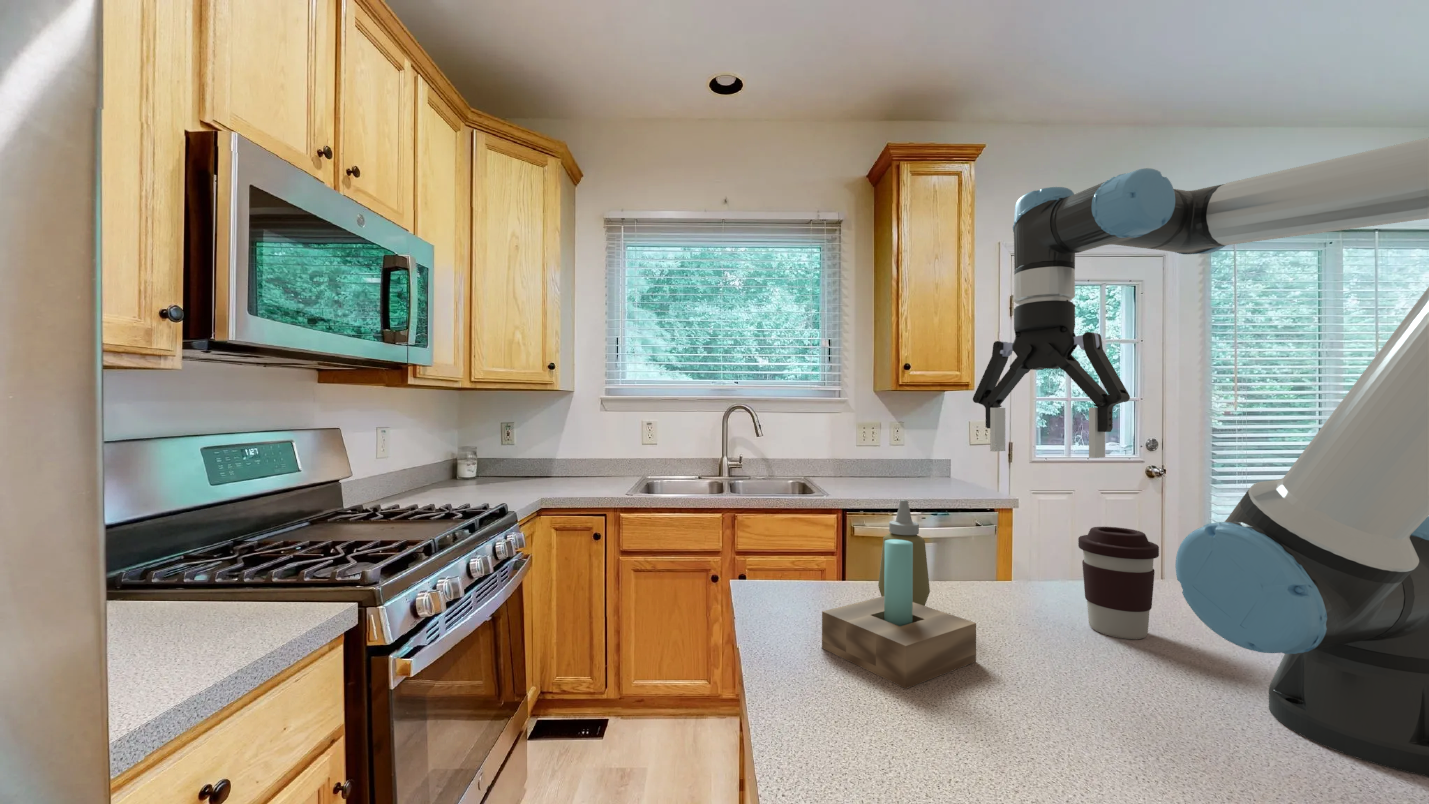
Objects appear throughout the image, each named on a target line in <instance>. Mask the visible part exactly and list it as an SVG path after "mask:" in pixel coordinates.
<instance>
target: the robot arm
mask: <svg viewBox="0 0 1429 804" xmlns="http://www.w3.org/2000/svg"><path fill="white" fill-rule="evenodd" d="M1420 220H1429V137H1425V138H1420V139H1415V140H1410V141H1407V142H1401V143H1398V144H1397V143H1396V144H1394V145H1389V146H1385V147H1379V148H1375V149H1371V150H1368V151H1367V150H1366V151H1362V152H1358V153H1353V154H1349V155H1345V156H1340V157H1336V158H1330V159H1327V160H1322V161H1318V162H1313V163H1309V164H1304V165H1299V166H1296V167H1292V168H1287V169H1283V170H1278V171H1273V172H1270V173H1269V172H1268V173H1266V174H1260V175H1256V176H1255V175H1254V176H1251V177H1246V178H1243V179H1242V178H1241V179H1238V180H1234V181H1229V182H1225V183H1223V184H1218V185H1217V184H1216V185H1213V186H1208V187H1203V188H1199V189H1193V190H1184V189H1179V188H1178V189H1176V188H1174V187H1173V184H1172V181H1171V180H1170V179H1169V178H1168V177H1167V176H1163V175H1162V172H1161V171H1159V170H1158V169H1156V168H1149V167H1147V168H1140V169H1136V170H1132V171H1129V172H1127V173H1122V174H1118V175H1117V176H1113V177H1111V178H1109V179H1108V180H1105V181H1104V182H1101V183H1098V184H1096V185H1093V186H1091V187H1089V188H1086V189H1084V190H1082V191H1080V192H1078V193H1077V192H1076V193H1074V191H1073V190H1071V188H1068V187H1063V186H1052V187H1043V188H1041V189H1038V190H1031V191H1029V192H1027V193H1025V194H1023V195H1022V196H1021V197H1019V198H1018V199H1017V201H1016V202H1015V206H1014V217H1013V226H1012V230H1013V231H1012V232H1013V263H1014V264H1013V265H1014V266H1013V267H1014V269H1013V270H1014V272H1013V273H1014V274H1013V275H1014V276H1013V279H1014V280H1013V302H1014V303H1015V304H1017V305H1016V306H1015V308H1013V330H1014V334H1015V337H1014V340H1013V341H1012V342H1008V341H1002V340H1001V341H1000V340H996V341H994V342H993V344H992V352H991V358H990V360H989V361H988V364H987V366H986V369H985V370H984V373H983V375H982V376H981V379H980V381H979V384H978V386H977V388H976V390H975V392H974V395H973V397H972V401H973V403H976V404H979V405H982V406H983V407H984V408H985V409H984V410H985V428H986V429H990V431H989V432H990V433H989V434H990V435H989V436H990V437H989V438H990V446H989V447H990V449H989V450H990V451H989V452H1006V407H1003V405H1002V404H1003V402H1004V401H1005V400H1006V399H1007V397H1008V396H1009V395H1010V393H1011V392H1012V391H1013V390H1014V389H1015V388H1016V386H1017V385H1018V383H1020V381H1021V380H1022V378H1024V377H1025V375H1026V374H1028V373H1029V372H1030V371H1031V370H1032V371H1035V370H1036V371H1042V370H1045V369H1050V370H1059V369H1060V370H1063V372H1065V373H1066V375H1067V376H1069V378H1070V379H1071V380H1072V381H1073V382H1074V383H1075V384H1076V385H1077V386H1078V387H1079V389H1081V390H1082V392H1083V393H1084V394H1085V395H1086V397H1088V398H1089V399H1090V400H1091V401H1092V402H1093V403H1094V404H1093V406H1094V407H1088V458H1090V459H1099V458H1101V459H1102V458H1106V433H1111V432H1112V430H1113V425H1114V424H1113V423H1114V422H1113V420H1114V419H1113V412H1114V410H1113V409H1114V407H1115V406H1116V405H1119V404H1121V403H1122V404H1123V403H1126V402H1128V401H1130V399H1131V396H1130V394H1129V392H1128V390H1127V388H1126V387H1125V385H1124V384H1123V382H1122V380H1121V379H1120V376H1119V375H1118V373H1117V371H1116V369H1115V368H1114V367H1113V366H1114V365H1112V363H1111V361H1110V359H1109V357H1108V355H1107V354H1106V353H1105V350H1104V349H1103V347H1104V346H1103V340H1102V335H1101V333H1098V332H1091V331H1085V332H1084V333H1083V334H1081V335H1076V333H1075V329H1076V328H1075V327H1076V304H1074V302H1073V301H1072V300H1073V299H1074V298H1075V297H1076V291H1075V290H1076V287H1075V284H1076V282H1075V281H1076V278H1075V277H1076V275H1075V273H1076V271H1075V270H1076V254H1079V253H1082V252H1086V251H1090V250H1093V249H1096V248H1099V247H1103V246H1108V245H1109V246H1110V245H1111V246H1112V245H1115V246H1120V247H1121V246H1123V247H1131V248H1140V249H1149V250H1157V251H1164V252H1171V253H1176V254H1181V255H1206V254H1212V253H1215V252H1217V251H1219V250H1221V249H1223V248H1225V247H1226V246H1231V245H1237V244H1246V243H1247V244H1248V243H1253V242H1260V241H1269V240H1277V239H1283V238H1284V239H1285V238H1291V237H1299V236H1307V235H1314V234H1315V235H1316V234H1322V233H1329V232H1337V231H1344V230H1345V231H1346V230H1351V229H1359V228H1367V227H1375V226H1383V225H1388V224H1389V225H1390V224H1397V223H1407V222H1413V221H1420ZM1078 346H1079V348H1080V349H1081V350H1082V351H1084V353H1085V356H1086V357H1087V359H1088V361H1089V362H1090V364H1091V365H1092V368H1093V370H1094V371H1095V373H1096V375H1097V377H1098V379H1099V380H1100V382H1101V383H1102V385H1103V387H1104V389H1105V390H1104V389H1103V388H1102V386H1100V384H1098V382H1097V381H1096V380H1095V378H1093V377H1092V375H1090V374H1089V372H1087V371H1086V369H1084V368H1083V367H1082V366H1081V363H1080V361H1078V360H1077V359H1076V358H1075V357H1074V356H1073V352H1075V349H1076V348H1077V347H1078ZM1013 352H1014V354H1015V355H1016V357H1015V359H1014V360H1013V361H1012V363H1011V364H1010V365H1009V369H1008V370H1007V371H1006V373H1005V374H1004V375H1003V376H1002V377H1001V375H1002V374H1003V372H1004V369H1005V367H1006V365H1007V363H1008V359H1009V358H1010V356H1012V355H1013ZM1000 378H1001V379H1000ZM1175 576H1176V580H1177V581H1178V582H1179V583H1180V587H1181V589H1182V592H1181V593H1182V595H1183V598H1184V600H1185V601H1186V602H1187V605H1188V606H1189V607H1190V609H1191V610H1192V612H1193V613H1194V614H1195V615H1196V616H1197V617H1198V619H1199V620H1200V621H1202V623H1203V624H1204V625H1206V626H1207V627H1208V628H1209V629H1210V630H1211V631H1212V632H1214V633H1215V634H1216V635H1218V636H1219V637H1221V638H1222V639H1224V640H1226V641H1228V642H1230V643H1231V644H1234V645H1235V646H1238V647H1241V648H1242V649H1243V648H1244V649H1246V650H1249V651H1252V652H1257V653H1263V654H1280V653H1281V654H1283V657H1282V658H1281V660H1280V663H1279V665H1278V667H1277V669H1276V671H1275V673H1274V675H1273V678H1272V679H1271V682H1270V684H1269V686H1268V687H1269V688H1268V710H1269V712H1270V713H1271V715H1272V716H1273V717H1274V718H1275V719H1276V720H1277V721H1279V722H1280V724H1283V725H1284V726H1285V727H1287V728H1288V729H1290V730H1291V731H1293V732H1295V733H1297V734H1299V735H1301V736H1303V737H1305V738H1307V739H1309V740H1311V741H1312V742H1315V743H1318V744H1319V745H1322V746H1325V747H1327V748H1329V749H1332V750H1335V751H1337V752H1340V753H1343V754H1345V755H1348V756H1350V757H1354V758H1356V759H1359V760H1363V761H1366V762H1369V763H1373V764H1376V765H1379V766H1383V767H1386V768H1387V767H1388V768H1391V769H1394V770H1398V771H1403V772H1406V773H1412V774H1417V775H1420V776H1421V775H1423V776H1429V286H1428V287H1427V288H1426V290H1425V291H1424V292H1423V294H1422V295H1421V296H1420V298H1419V299H1418V300H1417V301H1416V303H1415V304H1414V305H1413V307H1412V308H1411V309H1410V310H1409V312H1408V313H1407V315H1406V316H1405V317H1404V319H1403V320H1402V321H1401V322H1400V324H1399V325H1398V327H1397V328H1396V329H1395V330H1394V332H1393V333H1392V334H1391V336H1390V337H1389V338H1388V340H1387V341H1386V342H1385V343H1384V344H1383V347H1382V348H1381V349H1380V350H1379V351H1378V353H1377V354H1376V355H1375V357H1374V358H1373V359H1372V361H1371V362H1370V364H1369V365H1368V366H1367V367H1366V369H1365V370H1364V371H1363V373H1362V374H1361V375H1360V376H1359V378H1358V379H1357V380H1356V382H1355V383H1354V385H1352V387H1351V388H1350V389H1349V391H1348V392H1347V394H1346V395H1345V396H1344V397H1343V398H1342V400H1341V401H1340V403H1339V404H1338V405H1337V406H1336V408H1335V409H1334V411H1333V412H1332V413H1331V414H1330V416H1329V417H1328V419H1327V420H1325V422H1324V423H1323V425H1322V426H1321V428H1320V429H1319V430H1318V432H1317V433H1316V434H1315V435H1314V437H1313V439H1312V440H1311V441H1310V442H1309V444H1307V446H1306V447H1305V449H1304V450H1303V451H1302V453H1300V455H1299V456H1298V458H1297V460H1296V461H1295V462H1294V463H1293V464H1292V466H1291V467H1290V469H1289V470H1288V471H1287V472H1286V473H1285V475H1284V476H1283V477H1282V478H1279V479H1275V480H1264V481H1258V482H1255V483H1254V484H1252V486H1251V487H1249V488H1248V490H1247V491H1246V493H1245V494H1244V495H1243V496H1242V498H1241V499H1240V500H1239V502H1238V503H1237V505H1236V506H1235V507H1234V509H1233V510H1232V511H1231V513H1230V514H1229V516H1228V517H1227V518H1226V519H1225V520H1224V521H1221V522H1220V521H1219V522H1218V521H1217V522H1210V523H1206V524H1205V525H1203V526H1201V527H1199V528H1197V529H1194V530H1193V531H1192V532H1190V533H1188V534H1187V535H1186V536H1185V537H1184V539H1183V540H1182V541H1181V543H1180V545H1179V546H1178V550H1177V553H1176V556H1175Z"/></svg>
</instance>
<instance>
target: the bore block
mask: <svg viewBox="0 0 1429 804" xmlns="http://www.w3.org/2000/svg"><path fill="white" fill-rule="evenodd" d="M821 649H824V650H825V651H827V652H830V653H832V654H833V655H836V656H838V657H839V658H842V659H843V660H846V661H848V662H850V663H852V664H854V665H856V666H859V667H861V668H862V669H864V670H866V671H869V672H871V673H872V674H874V675H877V676H879V677H880V678H883V679H885V680H887V681H889V682H891V683H893V684H895V685H897V686H899V687H902V688H903V689H905V690H906V689H909V688H912V687H914V686H917V685H919V684H921V683H925V682H927V681H929V680H932V679H935V678H938V677H940V676H943V675H945V674H947V673H950V672H952V671H956V670H958V669H960V668H963V667H967V666H968V665H972V664H974V663H975V662H976V663H977V622H975V621H972V620H968V619H965V618H962V617H959V616H956V615H954V614H950V613H948V612H944V611H942V610H938V609H935V608H932V607H929V606H926V605H925V606H923V605H920V604H917V603H914V602H913V609H912V623H910V624H907V625H903V626H897V625H895V624H892V623H890V622H887V621H884V596H883V597H882V596H879V597H875V598H871V599H867V600H861V601H859V602H856V603H851V604H846V605H843V606H838V607H835V608H831V609H825V610H822V611H821Z"/></svg>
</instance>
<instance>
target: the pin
mask: <svg viewBox="0 0 1429 804" xmlns="http://www.w3.org/2000/svg"><path fill="white" fill-rule="evenodd" d="M912 609H913V543H912V542H910V541H906V540H898V539H890V540H885V572H884V621H887V622H890V623H892V624H895V625H897V626H903V625H907V624H910V623H912Z"/></svg>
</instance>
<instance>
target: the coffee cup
mask: <svg viewBox="0 0 1429 804" xmlns="http://www.w3.org/2000/svg"><path fill="white" fill-rule="evenodd" d="M1077 541H1078V542H1077V544H1078V548H1079V549H1080V550H1082V552H1083V560H1082V573H1083V575H1082V576H1083V585H1084V587H1083V588H1084V596H1085V597H1084V598H1085V600H1086V603H1087V606H1086V607H1087V616H1088V624H1089V627H1090V628H1091V629H1092V630H1093V631H1095V632H1098V633H1100V634H1103V635H1106V636H1109V637H1113V638H1119V639H1126V640H1140V639H1145V638H1146V637H1148V634H1149V633H1148V632H1149V621H1150V612H1151V609H1152V607H1153V594H1154V582H1155V574H1156V573H1155V569H1154V559H1157V558H1158V557H1159V556H1160V547H1159V545H1158V544H1156V543H1154V542H1152V541H1149V539H1148V537H1147V535H1146V534H1145V532H1143V531H1140V530H1136V529H1131V528H1124V527H1115V526H1093V527H1091V528H1090V529H1089V531H1088V533H1087V534H1083V535H1080V536H1078V539H1077Z"/></svg>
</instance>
